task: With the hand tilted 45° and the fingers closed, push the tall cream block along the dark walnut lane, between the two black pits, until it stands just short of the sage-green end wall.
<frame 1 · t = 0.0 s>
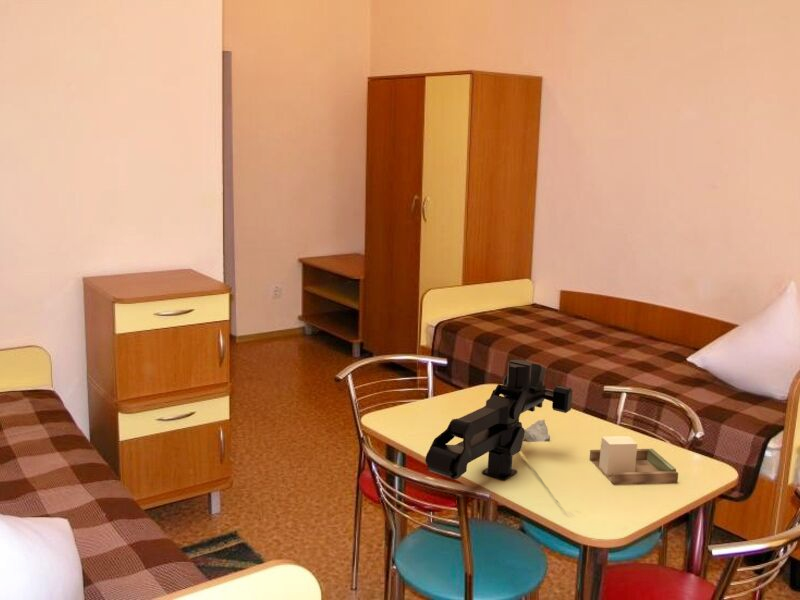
hand: (551, 386, 208), 17 cm above the table, tool horizontal, fingers open, 9 cm apart
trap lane: (631, 476, 192), on the table
cream block: (616, 471, 191), point 1 cm above the table, touching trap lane
stone: (537, 440, 216), on the table
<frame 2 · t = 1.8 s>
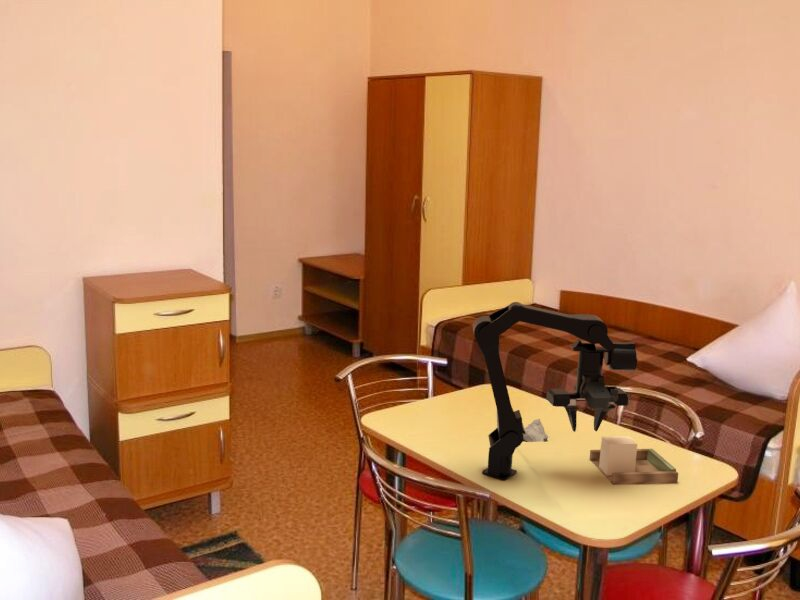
hand: (584, 430, 188), 12 cm above the table, tool pointing down, fingers open, 5 cm apart
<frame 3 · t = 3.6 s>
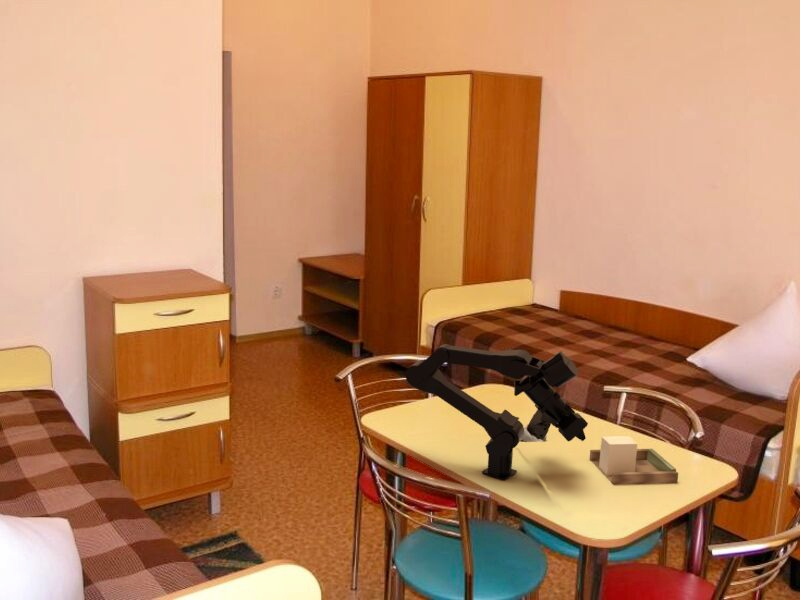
hand: (583, 439, 189), 10 cm above the table, tool tilted 45°, fingers closed
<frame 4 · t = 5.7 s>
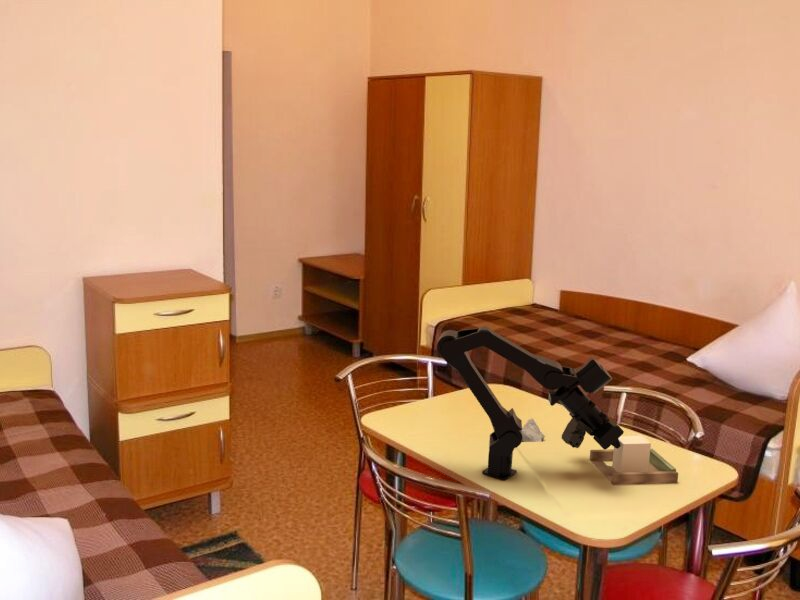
hand: (618, 446, 190), 8 cm above the table, tool tilted 45°, fingers closed
cream block: (629, 470, 192), point 2 cm above the table, touching gripper
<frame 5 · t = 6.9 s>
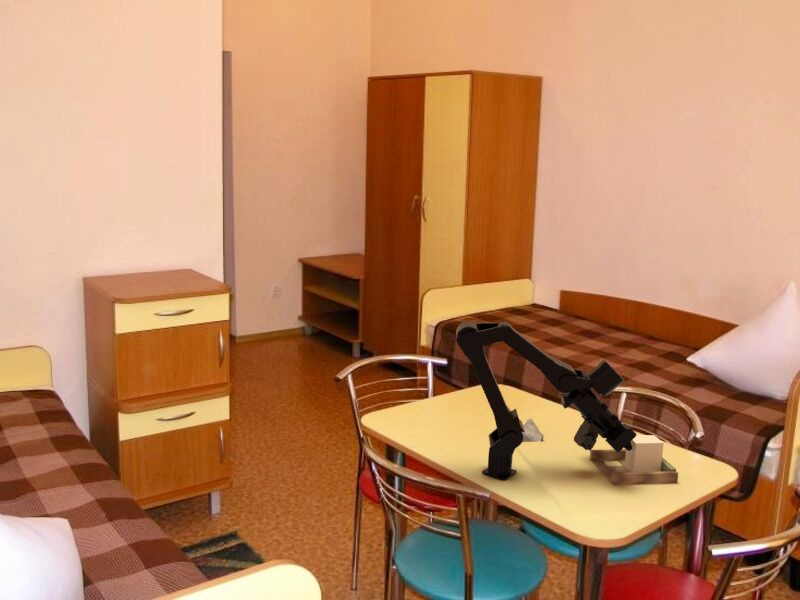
hand: (630, 449, 191), 7 cm above the table, tool tilted 45°, fingers closed
cream block: (642, 469, 193), point 1 cm above the table, touching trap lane
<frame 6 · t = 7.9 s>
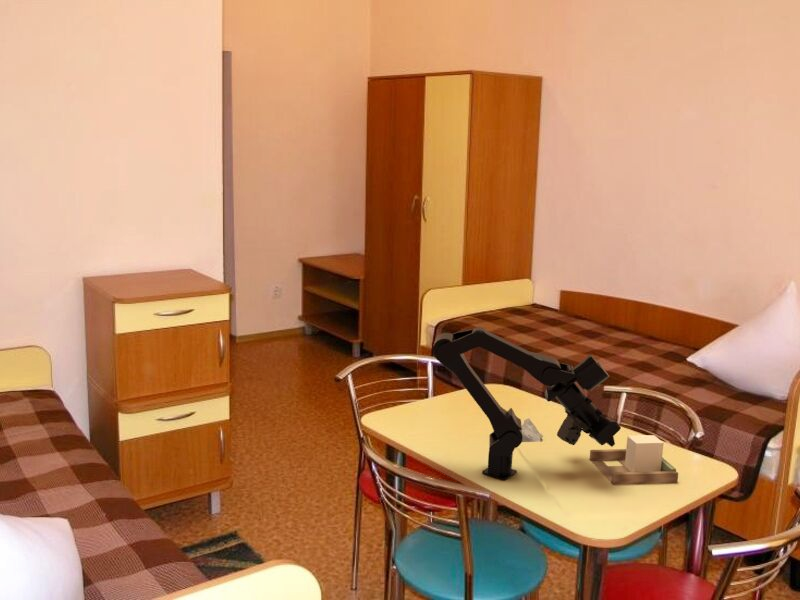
hand: (612, 445, 190), 8 cm above the table, tool tilted 45°, fingers closed
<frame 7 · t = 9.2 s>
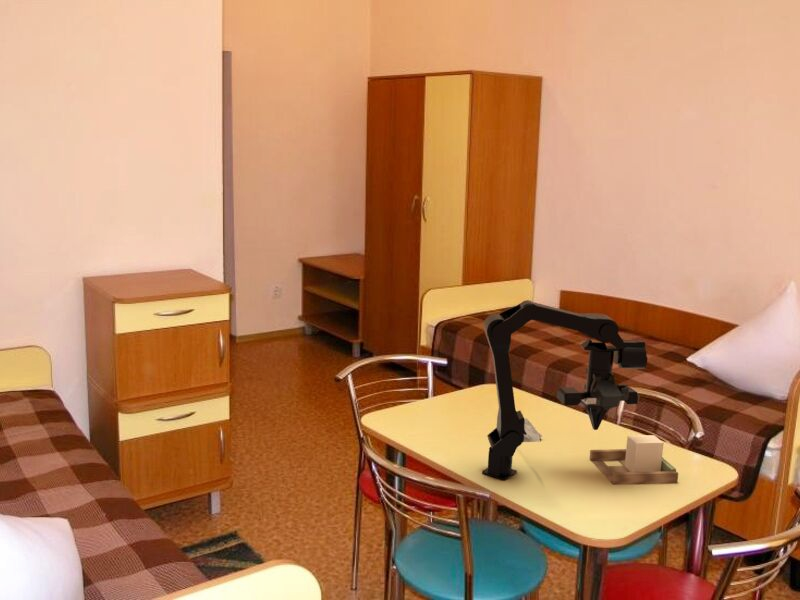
hand: (595, 429, 190), 12 cm above the table, tool pointing down, fingers closed
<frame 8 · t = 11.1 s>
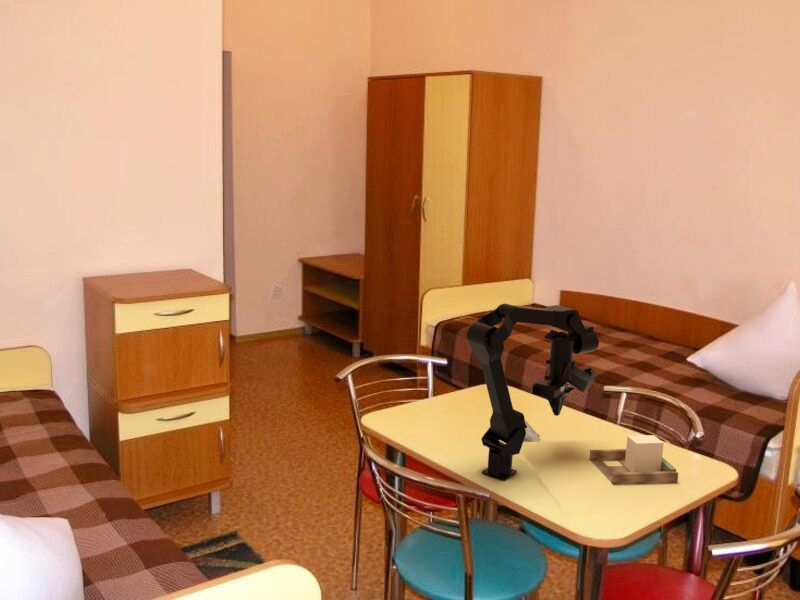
hand: (556, 415, 199), 12 cm above the table, tool pointing down, fingers closed
at the end: cream block 0.6 cm from the target spot on the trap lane, point 1.5 cm above the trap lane's base; cream block tilted 0°; cream block moved 6.8 cm from its start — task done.
